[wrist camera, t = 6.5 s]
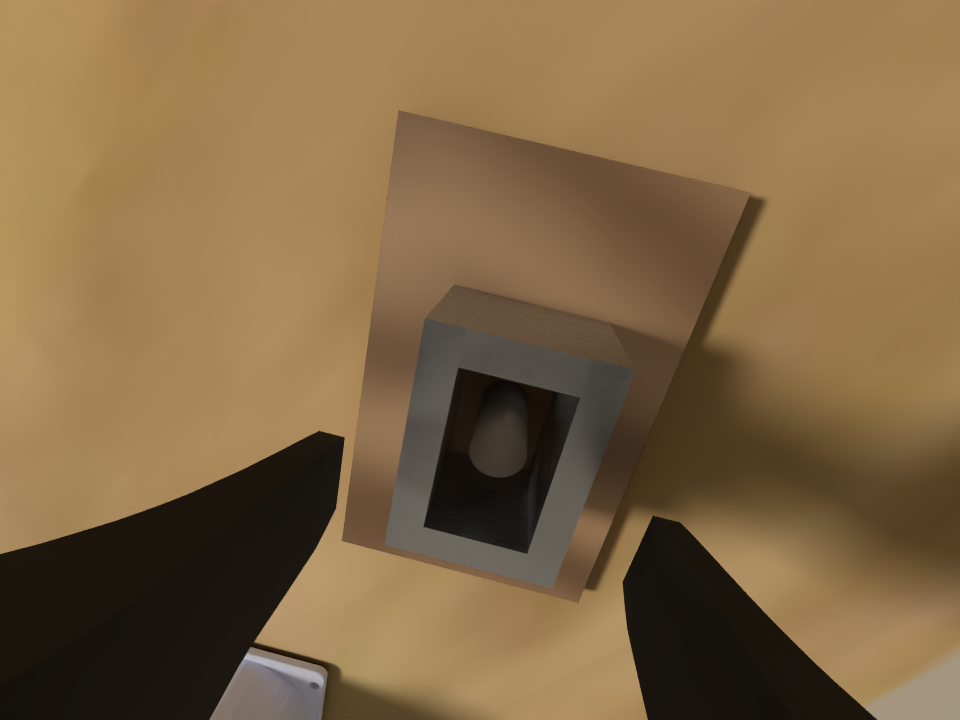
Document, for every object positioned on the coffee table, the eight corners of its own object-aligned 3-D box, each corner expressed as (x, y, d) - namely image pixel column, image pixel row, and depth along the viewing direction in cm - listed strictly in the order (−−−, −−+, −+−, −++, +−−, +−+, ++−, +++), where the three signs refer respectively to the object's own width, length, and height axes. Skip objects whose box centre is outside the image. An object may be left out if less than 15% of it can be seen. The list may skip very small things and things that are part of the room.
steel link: (548, 499, 16) (552, 588, 13) (417, 465, 17) (384, 544, 13) (608, 322, 14) (636, 370, 10) (453, 284, 14) (424, 318, 10)
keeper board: (576, 586, 19) (586, 683, 15) (349, 527, 19) (304, 608, 15) (738, 192, 13) (821, 193, 9) (406, 115, 13) (355, 85, 9)
